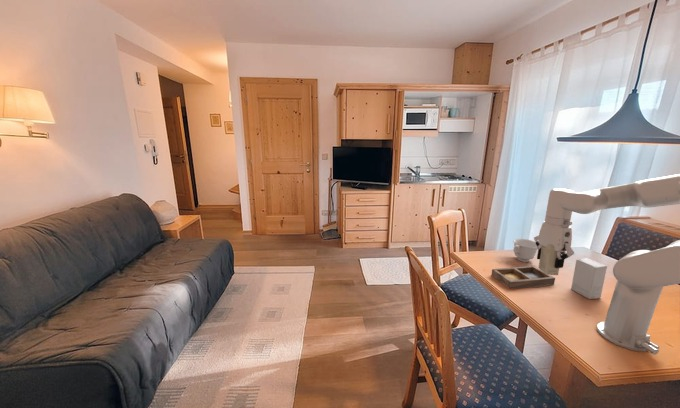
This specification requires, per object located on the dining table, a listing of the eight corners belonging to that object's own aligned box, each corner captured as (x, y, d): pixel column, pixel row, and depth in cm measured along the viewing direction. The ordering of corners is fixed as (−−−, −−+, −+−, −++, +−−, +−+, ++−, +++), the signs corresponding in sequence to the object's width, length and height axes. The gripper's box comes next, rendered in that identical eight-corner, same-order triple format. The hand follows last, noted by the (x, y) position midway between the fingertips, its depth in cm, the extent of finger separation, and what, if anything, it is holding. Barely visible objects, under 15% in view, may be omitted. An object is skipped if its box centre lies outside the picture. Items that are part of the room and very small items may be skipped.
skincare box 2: (600, 298, 112) (609, 266, 108) (588, 299, 111) (596, 267, 107) (580, 287, 120) (588, 257, 116) (568, 288, 119) (576, 258, 115)
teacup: (501, 258, 148) (504, 241, 145) (519, 253, 154) (522, 237, 151) (523, 267, 137) (526, 249, 135) (541, 262, 143) (545, 245, 140)
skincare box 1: (558, 275, 104) (564, 246, 101) (545, 274, 104) (551, 246, 102) (549, 268, 110) (554, 240, 107) (537, 267, 111) (542, 239, 108)
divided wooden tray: (553, 284, 122) (555, 278, 121) (509, 288, 119) (511, 282, 118) (532, 271, 133) (533, 265, 132) (491, 275, 130) (492, 269, 129)
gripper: (589, 227, 94) (579, 272, 98) (545, 214, 111) (538, 253, 115) (570, 228, 93) (561, 274, 97) (529, 215, 110) (523, 254, 114)
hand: (549, 262), depth 106 cm, fingers closed on skincare box 1, 7 cm apart
